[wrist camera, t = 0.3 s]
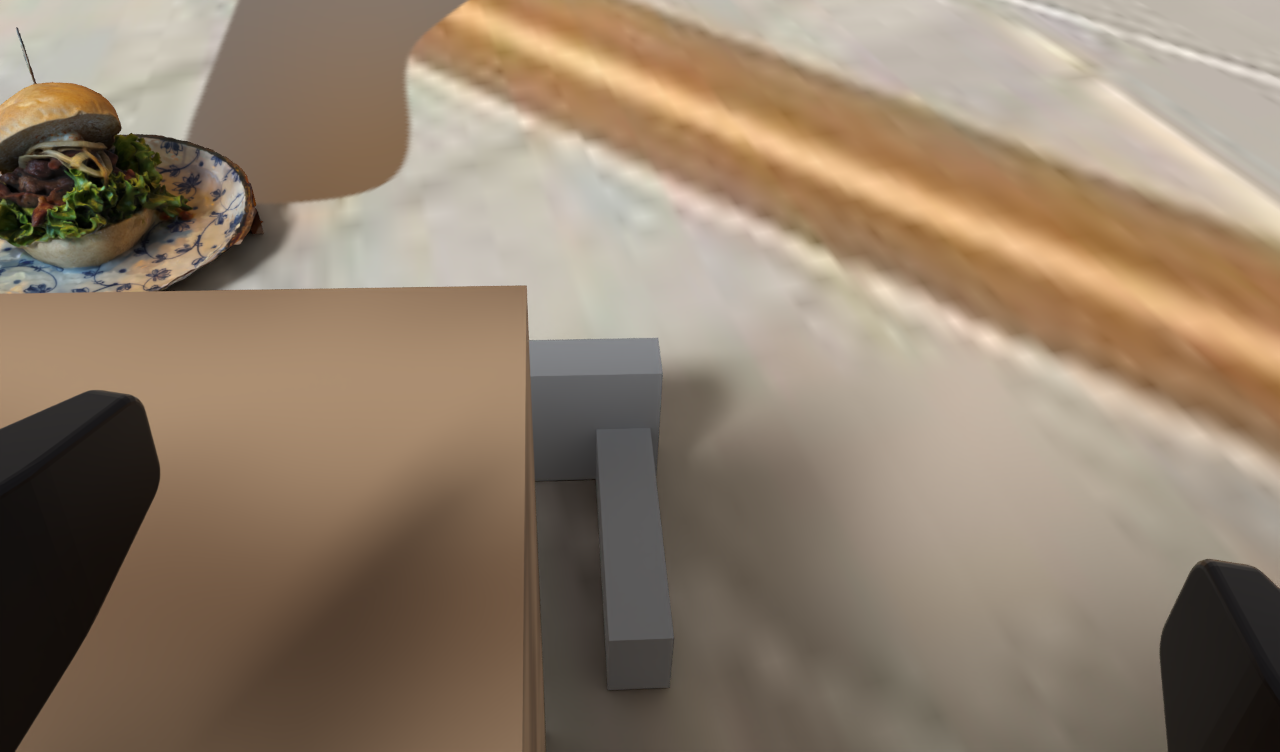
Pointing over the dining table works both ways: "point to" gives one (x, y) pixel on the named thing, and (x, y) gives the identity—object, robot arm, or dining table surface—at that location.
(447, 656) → the walnut block
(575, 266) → the dining table surface
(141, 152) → the burger
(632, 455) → the grey t-shaped block
